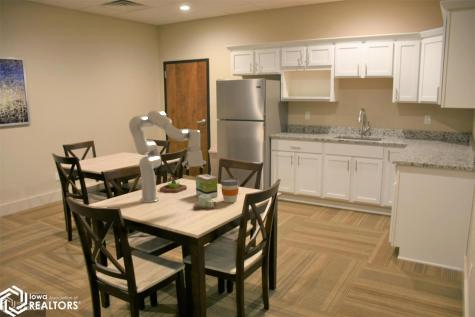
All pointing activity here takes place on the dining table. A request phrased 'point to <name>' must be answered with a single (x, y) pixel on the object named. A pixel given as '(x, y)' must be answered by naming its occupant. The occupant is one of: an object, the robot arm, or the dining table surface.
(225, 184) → the reusable coffee cup
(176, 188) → the plant
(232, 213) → the dining table surface
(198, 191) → the tea box
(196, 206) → the post board
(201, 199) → the collar
